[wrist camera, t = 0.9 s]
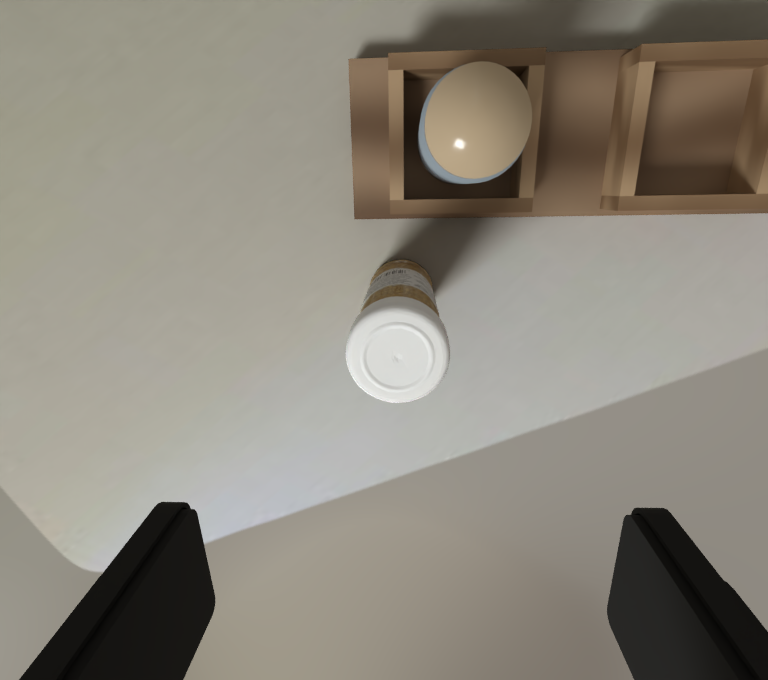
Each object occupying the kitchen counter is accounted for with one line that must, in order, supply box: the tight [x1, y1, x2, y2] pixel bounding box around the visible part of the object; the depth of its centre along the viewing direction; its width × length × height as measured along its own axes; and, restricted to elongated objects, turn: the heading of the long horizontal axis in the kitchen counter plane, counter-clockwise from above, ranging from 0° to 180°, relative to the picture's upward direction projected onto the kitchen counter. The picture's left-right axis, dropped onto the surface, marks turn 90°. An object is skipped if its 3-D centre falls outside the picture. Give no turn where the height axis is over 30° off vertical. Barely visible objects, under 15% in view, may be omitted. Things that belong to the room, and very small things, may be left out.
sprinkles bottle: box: [346, 259, 450, 403], centre depth 25 cm, size 5×5×13 cm
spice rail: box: [349, 39, 768, 219], centre depth 26 cm, size 9×26×4 cm, turn 91°
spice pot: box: [417, 61, 532, 184], centre depth 23 cm, size 5×5×8 cm
